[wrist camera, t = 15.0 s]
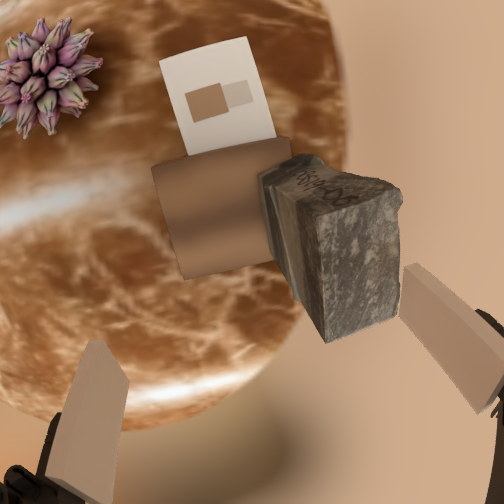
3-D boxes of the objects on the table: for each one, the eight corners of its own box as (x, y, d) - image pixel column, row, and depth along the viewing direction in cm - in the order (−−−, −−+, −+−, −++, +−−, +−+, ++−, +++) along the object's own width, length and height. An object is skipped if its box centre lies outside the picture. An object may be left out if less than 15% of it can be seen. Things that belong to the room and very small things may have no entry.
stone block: (302, 151, 26) (247, 161, 25) (407, 173, 13) (315, 190, 12) (313, 239, 29) (263, 252, 29) (399, 317, 16) (326, 347, 16)
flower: (109, 16, 20) (65, -27, 9) (129, 111, 25) (82, 103, 14) (24, 62, 20) (-40, 50, 9) (41, 151, 25) (-26, 170, 14)
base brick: (156, 164, 28) (150, 167, 25) (281, 136, 28) (288, 137, 26) (186, 267, 33) (184, 280, 30) (297, 241, 33) (305, 252, 31)
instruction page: (159, 61, 23) (158, 60, 23) (245, 37, 24) (246, 35, 23) (192, 167, 29) (192, 168, 28) (277, 142, 29) (278, 142, 28)
